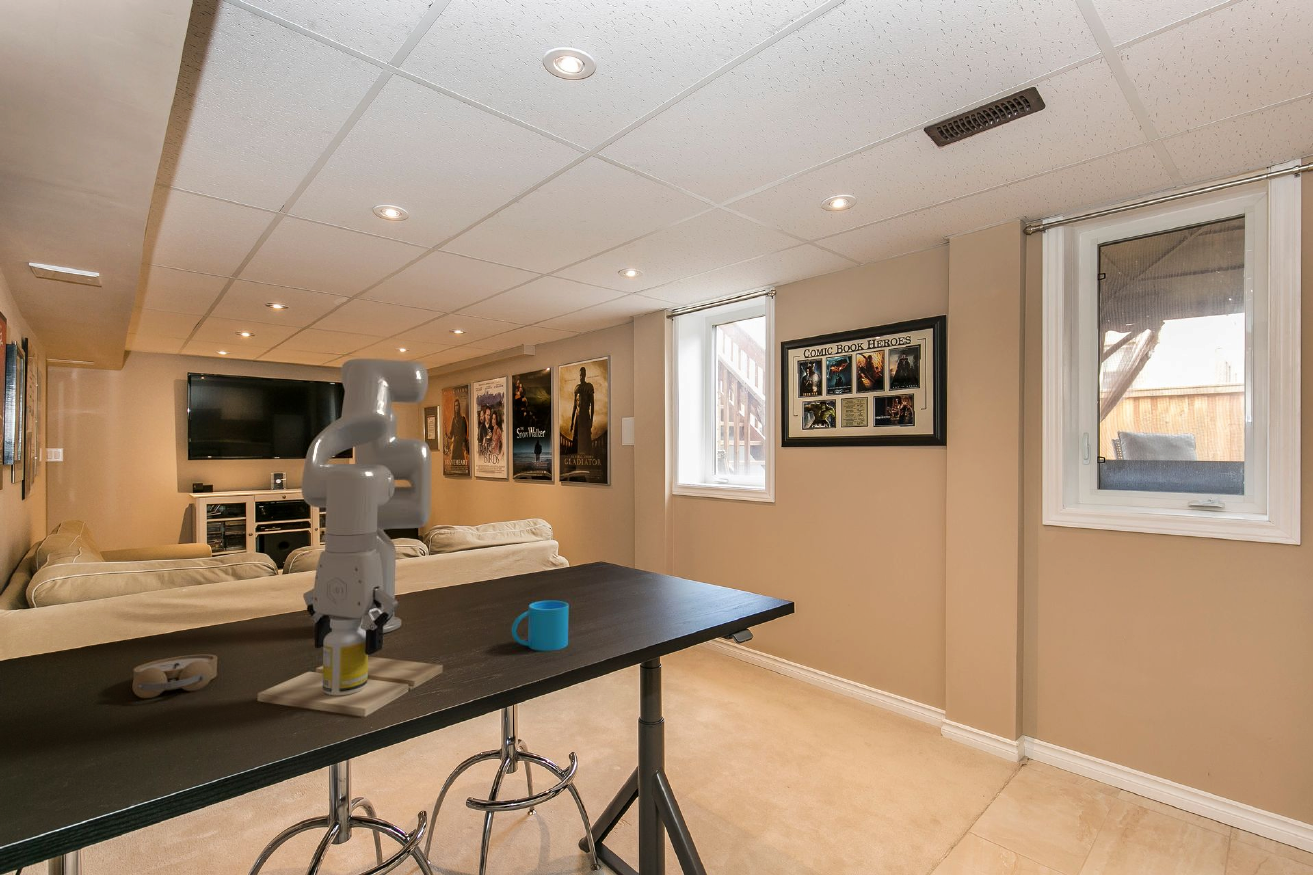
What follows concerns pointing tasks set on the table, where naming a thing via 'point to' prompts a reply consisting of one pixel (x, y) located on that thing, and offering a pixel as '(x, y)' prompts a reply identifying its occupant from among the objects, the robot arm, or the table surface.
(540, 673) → the table surface
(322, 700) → the plank
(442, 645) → the table surface
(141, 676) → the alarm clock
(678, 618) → the table surface
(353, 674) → the pill bottle
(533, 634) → the mug
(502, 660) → the table surface
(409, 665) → the floor row
